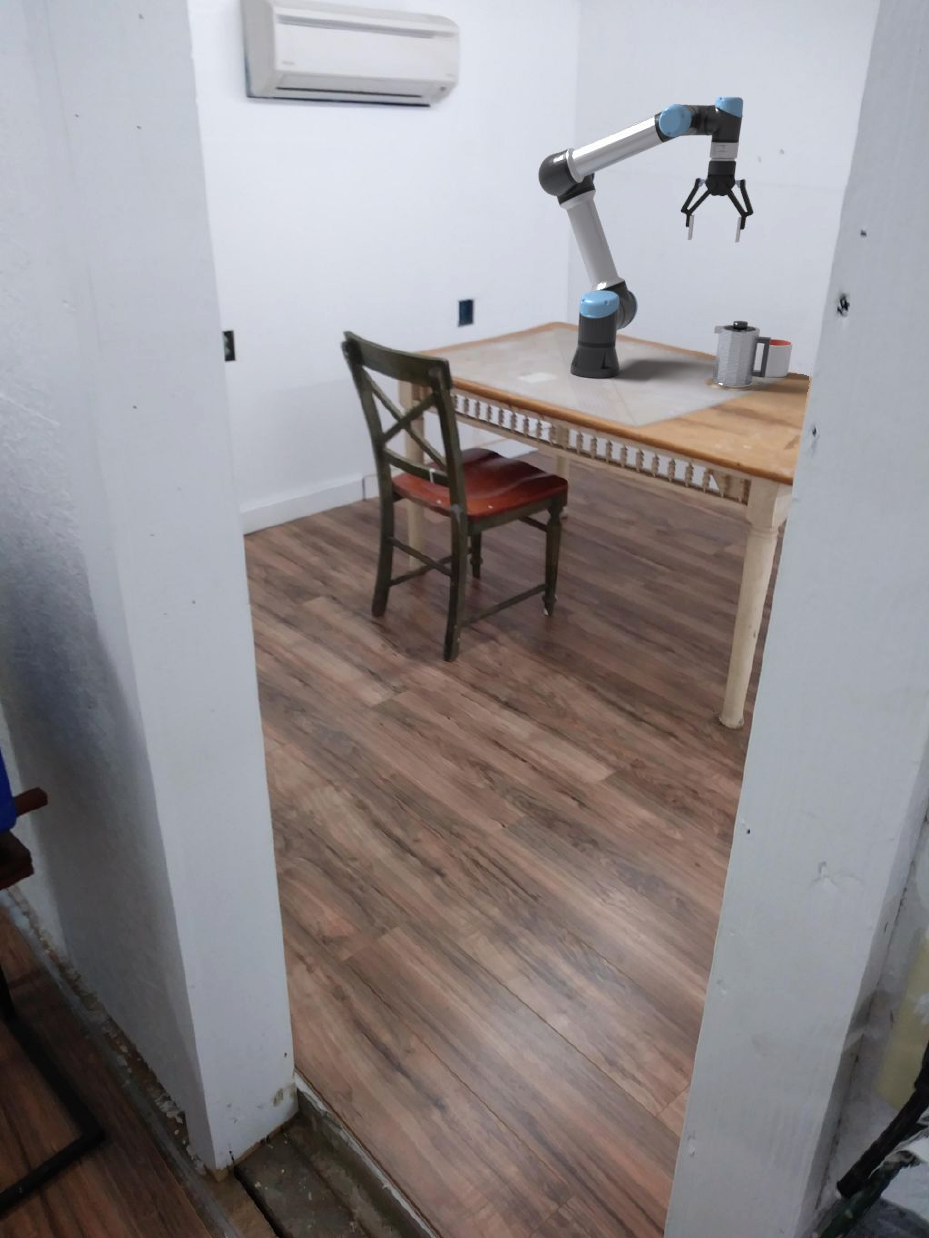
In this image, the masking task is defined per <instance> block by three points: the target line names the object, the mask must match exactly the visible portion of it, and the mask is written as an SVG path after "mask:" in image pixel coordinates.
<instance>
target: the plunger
mask: <svg viewBox="0 0 929 1238" xmlns="http://www.w3.org/2000/svg"><path fill="white" fill-rule="evenodd" d="M732 325H733V329H736V330H738V332H741V330H746V329H747V326H749V321H743V320H734V321H733V323H732Z"/></svg>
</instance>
